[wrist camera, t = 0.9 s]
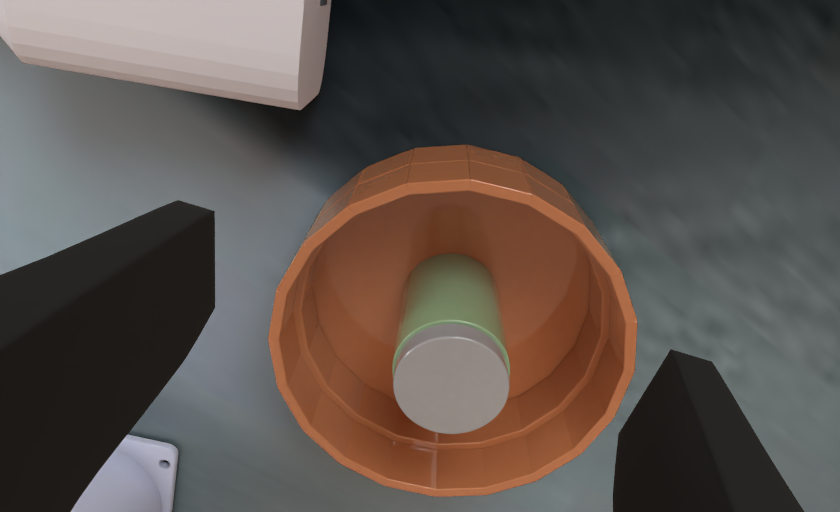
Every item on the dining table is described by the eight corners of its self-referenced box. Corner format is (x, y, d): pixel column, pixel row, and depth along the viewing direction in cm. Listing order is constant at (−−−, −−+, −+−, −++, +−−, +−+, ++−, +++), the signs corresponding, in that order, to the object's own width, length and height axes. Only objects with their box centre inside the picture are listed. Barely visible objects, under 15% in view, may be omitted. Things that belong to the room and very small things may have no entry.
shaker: (484, 347, 28) (493, 448, 22) (393, 326, 28) (378, 423, 22) (510, 265, 26) (528, 349, 20) (414, 242, 26) (404, 321, 20)
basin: (549, 442, 30) (567, 525, 26) (279, 382, 30) (248, 457, 25) (650, 186, 25) (696, 233, 21) (328, 107, 24) (301, 137, 20)
